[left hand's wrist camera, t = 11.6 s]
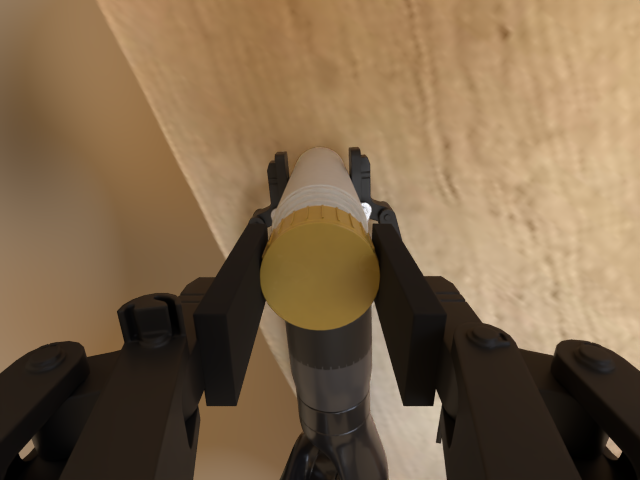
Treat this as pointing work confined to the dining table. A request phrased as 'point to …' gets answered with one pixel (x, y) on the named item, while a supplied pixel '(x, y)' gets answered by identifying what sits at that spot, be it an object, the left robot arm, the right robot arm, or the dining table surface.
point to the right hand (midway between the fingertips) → (317, 151)
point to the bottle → (319, 186)
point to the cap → (319, 268)
